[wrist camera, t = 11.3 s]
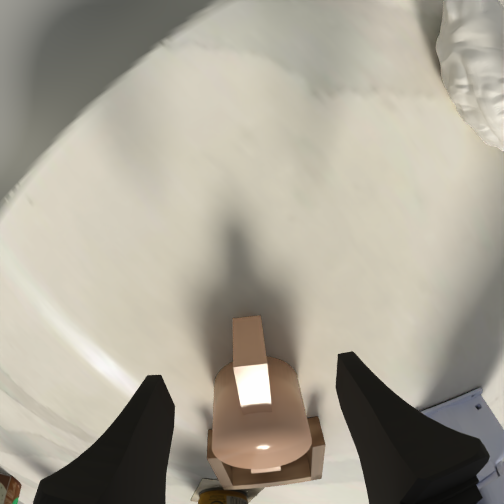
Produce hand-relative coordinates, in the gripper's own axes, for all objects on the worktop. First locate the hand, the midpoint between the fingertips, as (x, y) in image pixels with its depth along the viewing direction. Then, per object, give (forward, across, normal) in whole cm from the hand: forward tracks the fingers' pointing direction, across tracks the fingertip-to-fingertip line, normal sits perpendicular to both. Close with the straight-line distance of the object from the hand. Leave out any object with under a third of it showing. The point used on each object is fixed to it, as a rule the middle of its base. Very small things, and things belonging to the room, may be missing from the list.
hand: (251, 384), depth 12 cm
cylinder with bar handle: (+7, 0, +6) cm, 9 cm away
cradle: (+7, 0, +16) cm, 18 cm away
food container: (+7, +52, +39) cm, 66 cm away
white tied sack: (+7, -15, -12) cm, 20 cm away
